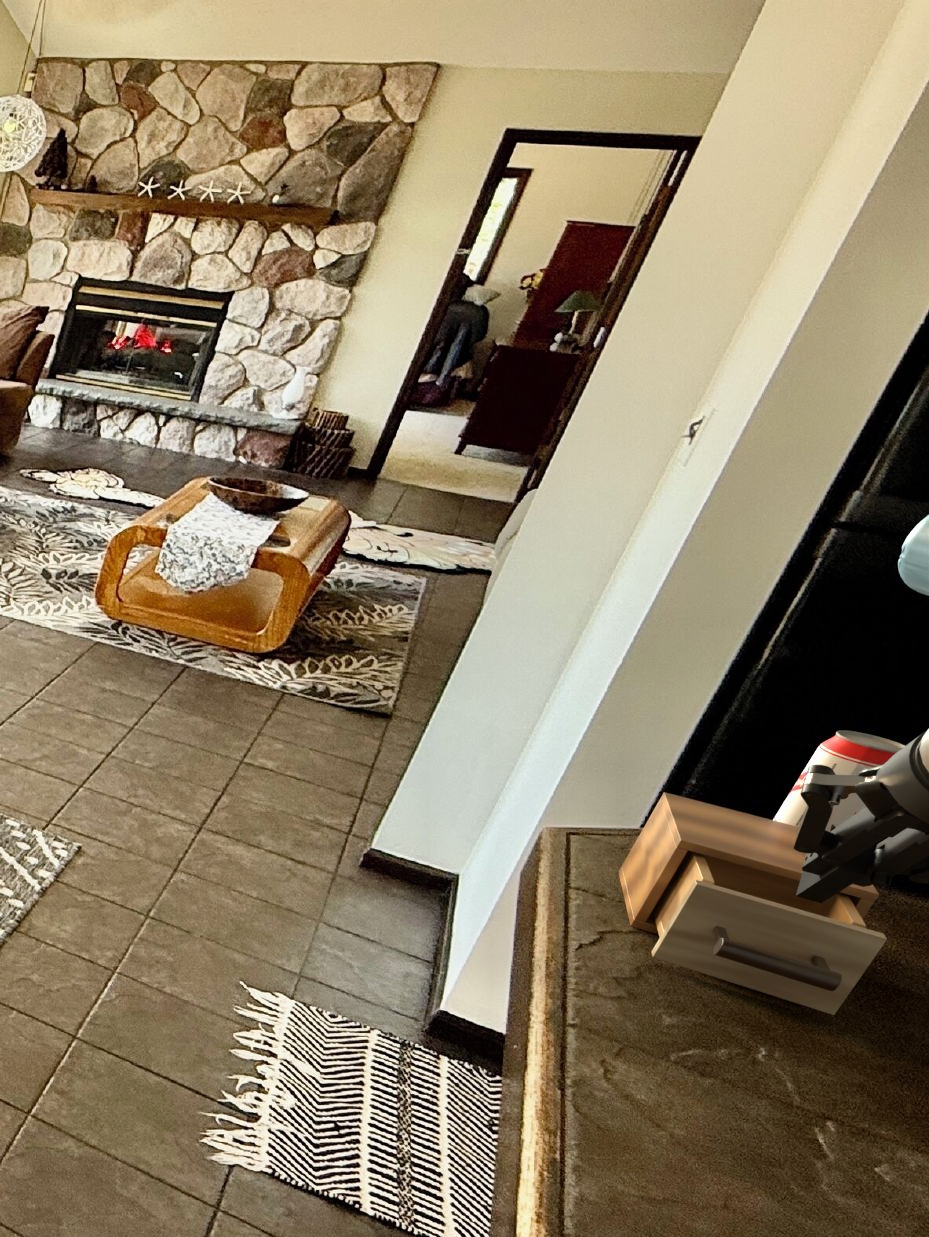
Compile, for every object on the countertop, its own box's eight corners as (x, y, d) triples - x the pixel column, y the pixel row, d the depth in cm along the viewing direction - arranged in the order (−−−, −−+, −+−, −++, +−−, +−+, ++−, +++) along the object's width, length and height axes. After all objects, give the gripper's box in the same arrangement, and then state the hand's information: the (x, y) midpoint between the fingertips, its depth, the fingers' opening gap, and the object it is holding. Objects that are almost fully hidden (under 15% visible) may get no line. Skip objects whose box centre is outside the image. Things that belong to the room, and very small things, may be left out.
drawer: (847, 1042, 96) (903, 964, 93) (658, 980, 102) (704, 905, 99) (803, 951, 109) (851, 880, 106) (638, 901, 116) (678, 833, 112)
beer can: (835, 881, 125) (923, 747, 119) (825, 896, 122) (915, 758, 115) (753, 854, 130) (833, 723, 123) (741, 868, 126) (823, 734, 120)
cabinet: (818, 984, 105) (879, 894, 102) (630, 926, 113) (680, 839, 109) (788, 922, 116) (843, 838, 112) (618, 872, 123) (663, 791, 119)
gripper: (843, 778, 82) (692, 893, 100) (1142, 849, 74) (918, 958, 93) (869, 690, 83) (715, 819, 102) (1163, 750, 76) (940, 877, 94)
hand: (812, 885), depth 97 cm, fingers closed
